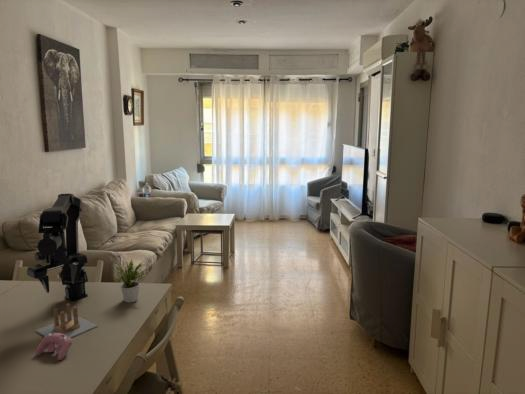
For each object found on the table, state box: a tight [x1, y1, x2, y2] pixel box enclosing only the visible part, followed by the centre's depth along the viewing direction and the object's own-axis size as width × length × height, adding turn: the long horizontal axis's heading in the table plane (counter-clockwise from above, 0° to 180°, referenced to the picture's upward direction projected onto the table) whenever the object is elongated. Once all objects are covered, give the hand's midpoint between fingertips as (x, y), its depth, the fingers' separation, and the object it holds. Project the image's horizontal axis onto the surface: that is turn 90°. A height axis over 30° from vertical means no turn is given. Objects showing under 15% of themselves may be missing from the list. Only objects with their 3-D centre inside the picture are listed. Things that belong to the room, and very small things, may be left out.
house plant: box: [114, 258, 149, 303], centre depth 156 cm, size 14×14×16 cm
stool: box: [52, 303, 80, 334], centre depth 134 cm, size 6×6×7 cm
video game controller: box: [35, 333, 73, 361], centre depth 120 cm, size 10×5×7 cm, turn 72°
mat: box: [35, 315, 98, 339], centre depth 135 cm, size 14×14×1 cm
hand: (60, 288), depth 140 cm, fingers open, 9 cm apart
